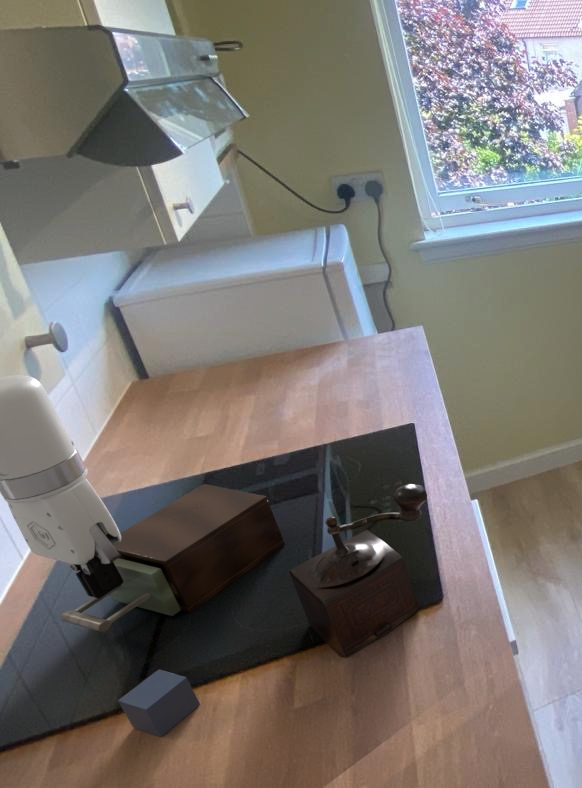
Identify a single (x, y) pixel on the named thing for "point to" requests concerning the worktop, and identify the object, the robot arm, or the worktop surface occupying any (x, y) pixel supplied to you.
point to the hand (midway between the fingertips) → (106, 589)
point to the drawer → (132, 593)
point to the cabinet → (205, 540)
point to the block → (159, 702)
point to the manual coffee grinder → (359, 581)
